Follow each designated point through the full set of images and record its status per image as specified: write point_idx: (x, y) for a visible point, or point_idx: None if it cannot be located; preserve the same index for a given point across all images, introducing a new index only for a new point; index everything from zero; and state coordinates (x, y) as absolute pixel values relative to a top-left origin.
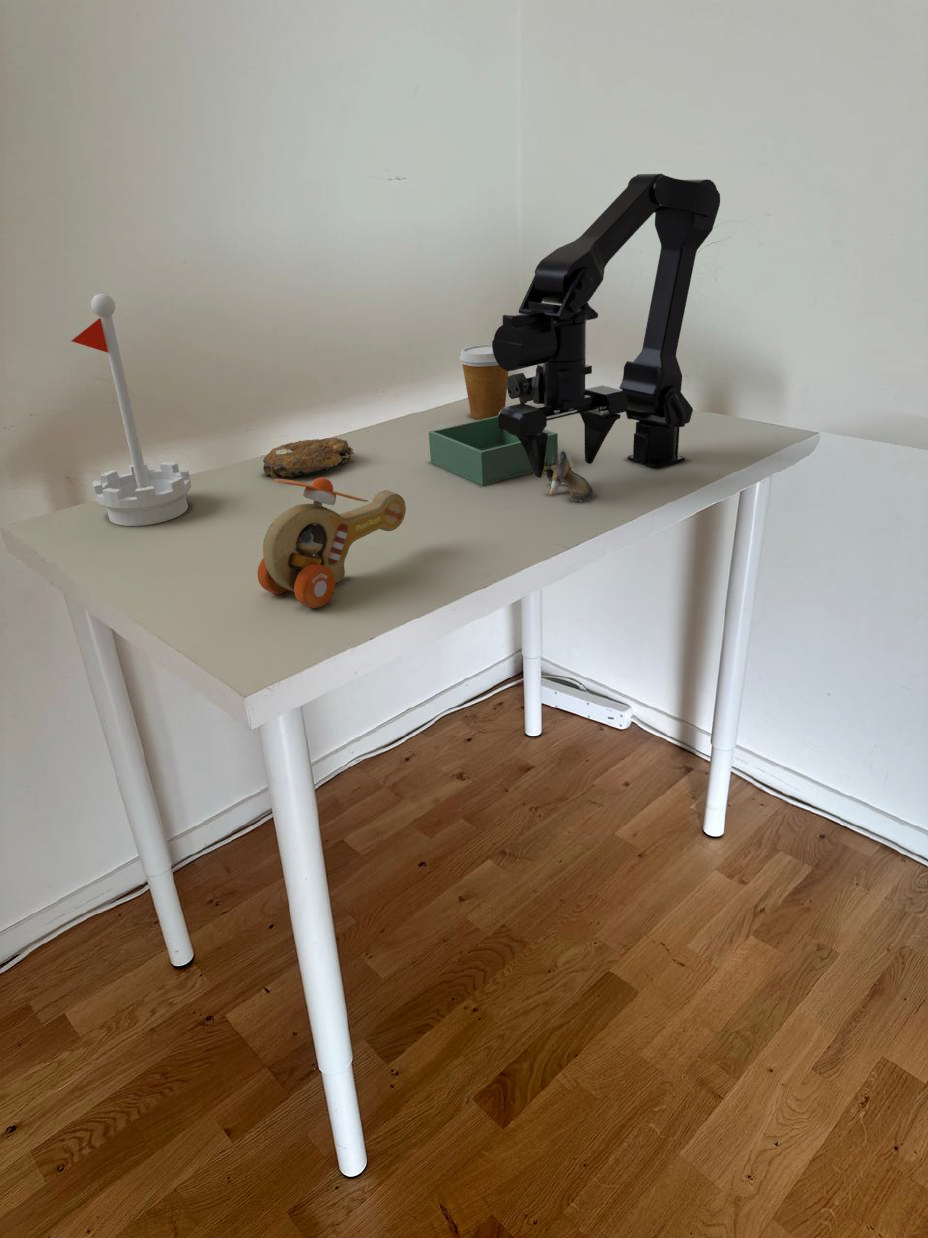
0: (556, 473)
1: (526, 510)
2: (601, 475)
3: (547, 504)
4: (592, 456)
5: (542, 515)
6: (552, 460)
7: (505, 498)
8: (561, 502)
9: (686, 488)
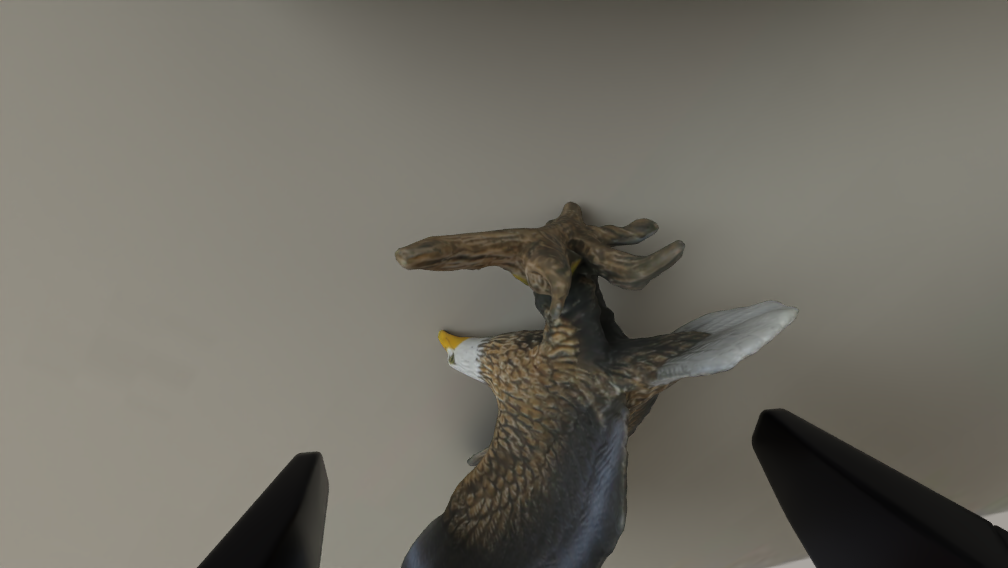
0: (508, 405)
1: (211, 433)
2: (860, 254)
3: (352, 422)
4: (781, 503)
5: None
6: (629, 278)
7: (164, 229)
8: (426, 433)
9: None
